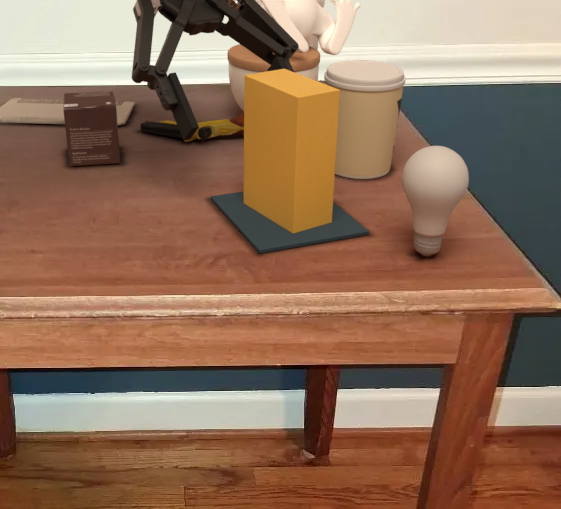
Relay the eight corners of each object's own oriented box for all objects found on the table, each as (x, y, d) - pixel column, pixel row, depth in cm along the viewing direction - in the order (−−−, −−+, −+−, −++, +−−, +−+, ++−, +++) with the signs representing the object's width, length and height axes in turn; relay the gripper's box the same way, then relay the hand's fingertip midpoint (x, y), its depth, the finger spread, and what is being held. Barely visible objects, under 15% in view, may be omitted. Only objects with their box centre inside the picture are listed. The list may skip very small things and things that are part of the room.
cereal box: (293, 233, 84) (298, 97, 78) (243, 203, 91) (244, 75, 84) (331, 222, 87) (340, 89, 81) (280, 193, 93) (284, 68, 87)
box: (118, 147, 106) (114, 90, 103) (120, 165, 101) (116, 105, 98) (68, 150, 105) (63, 92, 102) (68, 167, 100) (62, 107, 96)
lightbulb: (465, 250, 83) (480, 144, 78) (446, 275, 78) (461, 164, 73) (406, 236, 85) (418, 132, 80) (385, 260, 81) (395, 151, 76)
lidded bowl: (269, 97, 126) (270, 23, 121) (335, 116, 119) (340, 38, 114) (208, 115, 118) (207, 36, 113) (276, 137, 111) (278, 53, 106)
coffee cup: (412, 175, 100) (422, 75, 95) (344, 186, 97) (350, 83, 91) (370, 150, 108) (378, 56, 102) (306, 160, 104) (310, 63, 99)
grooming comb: (10, 96, 122) (11, 101, 122) (-14, 118, 113) (-13, 123, 113) (137, 99, 121) (137, 105, 122) (122, 122, 112) (122, 127, 113)
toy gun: (277, 133, 112) (235, 156, 105) (186, 120, 120) (141, 140, 112) (276, 107, 111) (233, 129, 103) (184, 96, 118) (138, 115, 110)
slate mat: (259, 253, 81) (259, 250, 81) (210, 199, 92) (210, 196, 92) (368, 234, 86) (369, 231, 85) (309, 185, 97) (309, 181, 97)
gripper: (253, -28, 104) (321, 121, 100) (61, -13, 91) (131, 160, 87) (279, -69, 98) (353, 89, 94) (77, -59, 85) (153, 125, 81)
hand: (246, 123), depth 91 cm, fingers open, 13 cm apart
